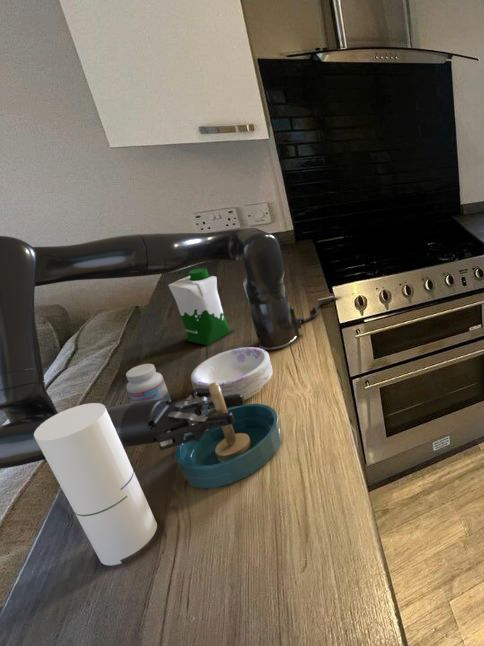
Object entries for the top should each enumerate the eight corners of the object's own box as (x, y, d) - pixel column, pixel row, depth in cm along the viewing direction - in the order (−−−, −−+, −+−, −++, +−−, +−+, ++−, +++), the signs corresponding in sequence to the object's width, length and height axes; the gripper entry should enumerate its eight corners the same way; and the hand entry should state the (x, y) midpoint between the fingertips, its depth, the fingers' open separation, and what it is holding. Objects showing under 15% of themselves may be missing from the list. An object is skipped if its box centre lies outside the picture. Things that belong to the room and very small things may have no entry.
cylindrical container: (169, 520, 74) (119, 402, 65) (134, 564, 67) (72, 439, 58) (125, 521, 74) (69, 403, 65) (86, 566, 67) (17, 441, 58)
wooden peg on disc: (242, 436, 90) (221, 370, 84) (257, 447, 87) (237, 380, 81) (212, 455, 86) (188, 386, 80) (227, 467, 83) (203, 397, 77)
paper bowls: (280, 366, 113) (273, 340, 110) (269, 405, 100) (261, 376, 97) (210, 379, 108) (201, 352, 105) (189, 422, 95) (179, 393, 92)
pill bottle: (131, 423, 94) (114, 381, 90) (147, 404, 100) (131, 363, 96) (165, 418, 96) (148, 376, 92) (178, 399, 101) (163, 359, 97)
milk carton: (235, 331, 128) (218, 269, 121) (205, 348, 120) (184, 283, 113) (213, 326, 131) (194, 265, 124) (182, 342, 123) (160, 278, 115)
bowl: (255, 413, 97) (250, 393, 95) (299, 443, 89) (294, 422, 87) (168, 466, 84) (159, 444, 82) (210, 506, 76) (202, 483, 74)
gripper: (99, 437, 72) (217, 419, 76) (148, 382, 85) (247, 369, 89) (114, 471, 74) (228, 452, 78) (160, 413, 87) (255, 399, 91)
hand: (237, 408), depth 83 cm, fingers open, 4 cm apart
